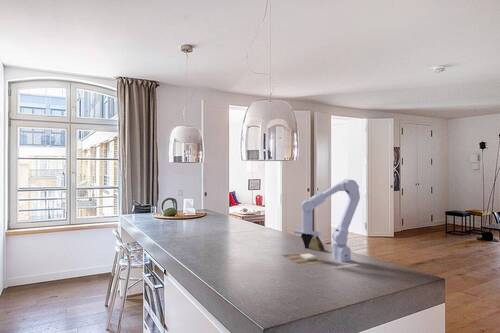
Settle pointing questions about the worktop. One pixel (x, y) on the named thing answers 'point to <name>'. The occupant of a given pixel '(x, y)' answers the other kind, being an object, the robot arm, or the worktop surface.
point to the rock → (316, 244)
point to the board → (297, 259)
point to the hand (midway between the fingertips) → (306, 248)
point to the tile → (308, 257)
